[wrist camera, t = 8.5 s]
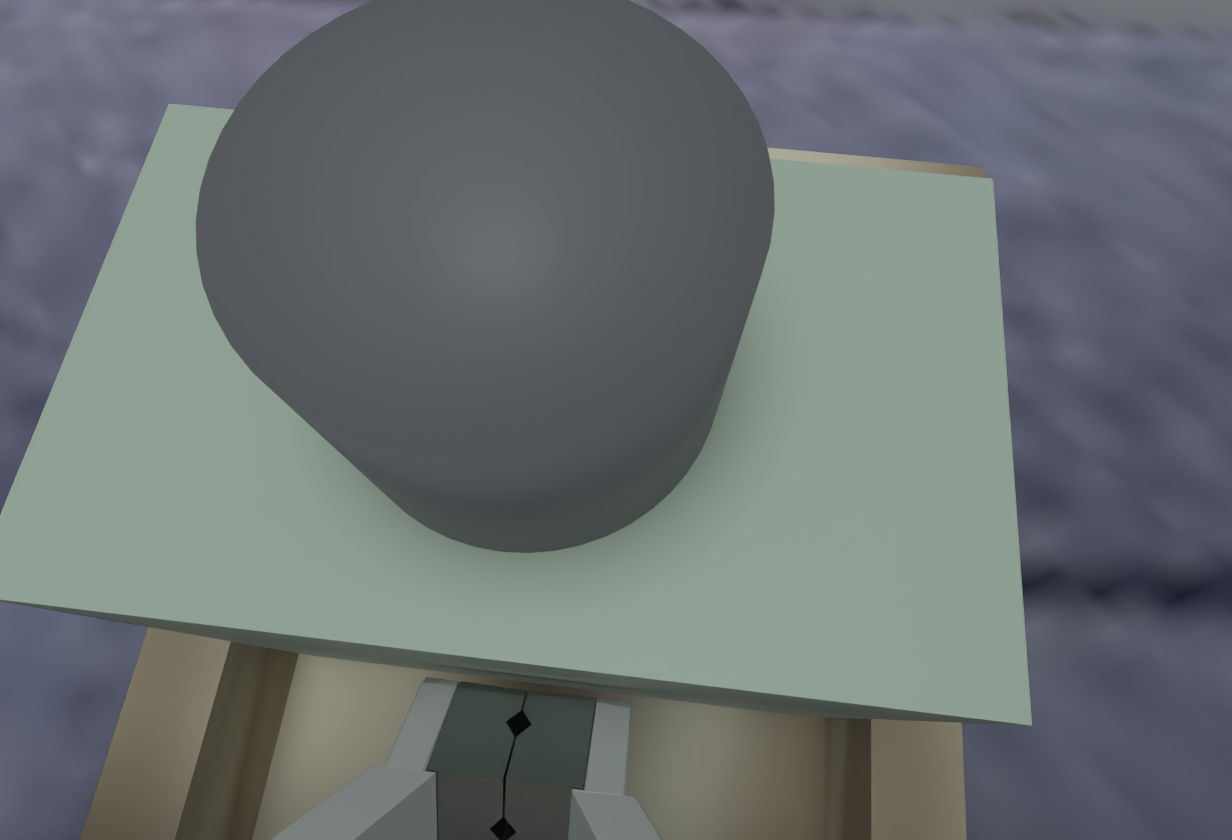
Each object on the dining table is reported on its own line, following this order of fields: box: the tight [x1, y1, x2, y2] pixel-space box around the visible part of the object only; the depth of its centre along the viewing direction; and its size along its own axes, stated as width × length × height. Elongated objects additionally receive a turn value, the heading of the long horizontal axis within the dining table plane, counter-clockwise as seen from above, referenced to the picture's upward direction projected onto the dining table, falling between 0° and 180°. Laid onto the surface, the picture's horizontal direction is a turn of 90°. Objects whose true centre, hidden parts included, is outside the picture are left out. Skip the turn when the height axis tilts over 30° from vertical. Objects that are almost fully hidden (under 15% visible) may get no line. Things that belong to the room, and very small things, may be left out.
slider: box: [0, 0, 1032, 725], centre depth 11 cm, size 10×6×12 cm, turn 83°
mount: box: [80, 148, 985, 840], centre depth 14 cm, size 14×19×6 cm
